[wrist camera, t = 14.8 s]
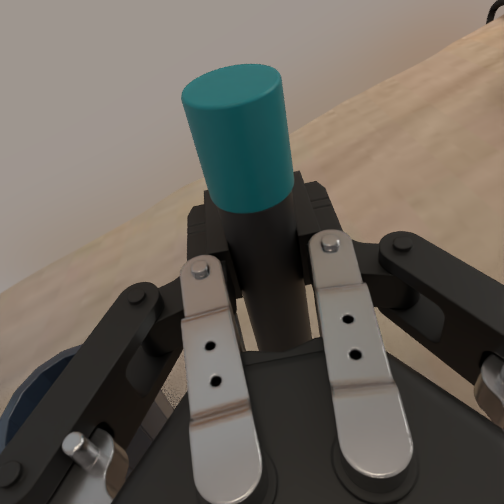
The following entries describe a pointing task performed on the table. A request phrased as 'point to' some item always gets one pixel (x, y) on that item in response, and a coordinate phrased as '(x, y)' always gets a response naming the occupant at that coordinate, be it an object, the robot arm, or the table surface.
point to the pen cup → (41, 382)
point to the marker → (253, 193)
